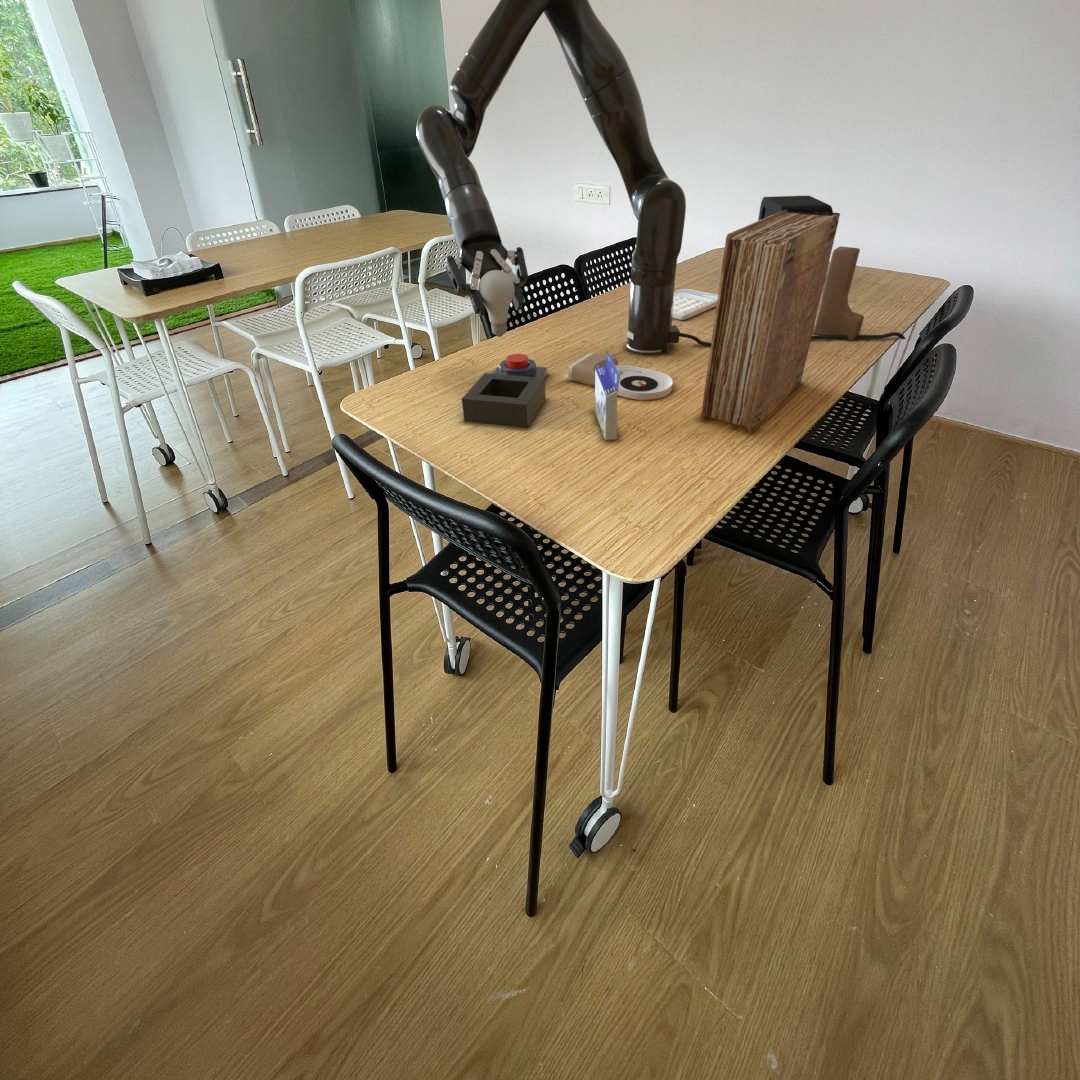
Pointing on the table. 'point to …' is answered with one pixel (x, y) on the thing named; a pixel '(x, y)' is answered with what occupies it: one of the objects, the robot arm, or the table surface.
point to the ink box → (607, 398)
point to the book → (766, 313)
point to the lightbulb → (497, 298)
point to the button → (517, 361)
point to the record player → (623, 378)
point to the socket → (504, 400)
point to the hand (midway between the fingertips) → (501, 310)
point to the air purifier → (791, 205)
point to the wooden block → (839, 297)
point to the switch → (522, 370)
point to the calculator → (692, 303)
